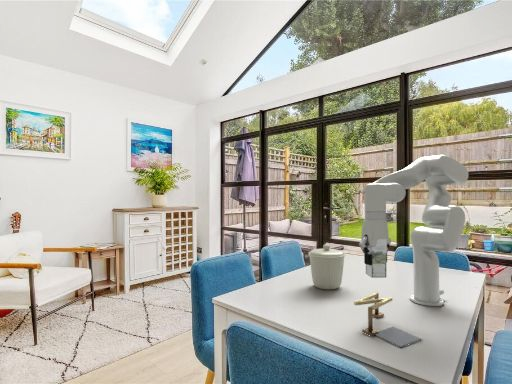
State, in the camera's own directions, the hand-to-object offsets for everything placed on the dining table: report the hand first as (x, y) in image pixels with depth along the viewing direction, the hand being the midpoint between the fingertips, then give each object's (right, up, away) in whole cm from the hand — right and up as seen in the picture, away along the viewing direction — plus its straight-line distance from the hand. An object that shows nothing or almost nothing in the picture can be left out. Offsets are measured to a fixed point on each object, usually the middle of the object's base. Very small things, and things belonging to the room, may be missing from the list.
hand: (375, 262), depth 115 cm
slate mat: (0, -20, -18) cm, 27 cm away
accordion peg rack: (-4, -20, -8) cm, 22 cm away
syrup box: (0, -5, 0) cm, 5 cm away
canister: (-10, -20, +36) cm, 43 cm away
